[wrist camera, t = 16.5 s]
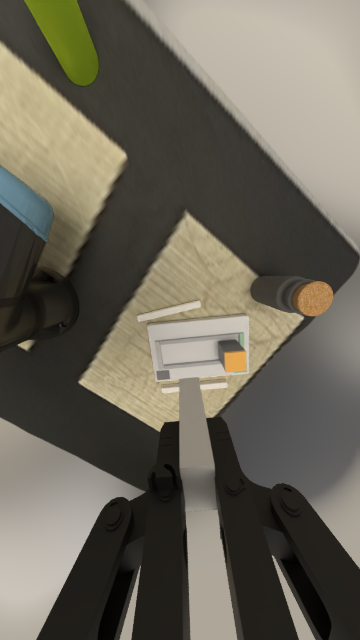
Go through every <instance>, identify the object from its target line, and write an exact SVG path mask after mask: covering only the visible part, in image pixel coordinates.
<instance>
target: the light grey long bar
mask: <svg viewBox="0 0 360 640" xmlns="http://www.w3.org/2000/svg"><path fill="white" fill-rule="evenodd" d="M199 384H200V389H201V390H204V389H215V388H226V387H227V381H226V379H221V380H210V381H199ZM161 389H162V393H172V392H179V383H177V384H167V385H162V388H161Z"/></svg>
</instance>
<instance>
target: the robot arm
mask: <svg viewBox="0 0 360 640" xmlns="http://www.w3.org/2000/svg"><path fill="white" fill-rule="evenodd" d="M53 217H54V214H53V210H52V207H51V206H50V204H49V203H48V201H47V200H46V199H45V198H44V197H42V196H41V195H40V194H39V193H37V192H36V191H35V190H33V189H32V188H31V187H29V186H28V185H27V184H25V183H24V182H23V181H21V180H20V179H19V178H17V177H16V176H15V175H13V174H12V173H10V172H9V171H8V170H6V169H5V168H4V167H2V166H1V165H0V352H2V351H4V350H6V349H8V348H11V347H13V346H15V345H17V344H20V343H22V342H24V341H26V340H34V339H47V338H52V337H56V336H58V335H60V334H62V333H64V332H66V331H67V330H69V329H70V328H71V327H72V326H73V325H74V323H75V322H76V320H77V317H78V313H79V303H78V298H77V295H76V293H75V291H74V289H73V287H72V286H71V285H70V283H69V282H68V281H67V280H66V279H65V278H64V277H63V276H61V275H60V274H58V273H57V272H55V271H53V270H50V269H47V268H43V267H37V264H38V262H39V259H40V257H41V254H42V252H43V249H44V247H45V244H46V243H48V234H49V231H50V228H51V224H52V221H53ZM147 479H148V483H149V489H148V490H147V491H146V492H145V493H144V494H142V495H141V496H139V497H137V498H135V499H133V500H130V501H128V500H127V499H126V498H124V497H117V498H115V499H113V500H111V501H110V502H109V503H107V504H106V505H105V506H104V508H103V509H102V511H101V512H100V515H99V516H98V518H97V520H96V522H95V524H94V526H93V528H92V530H91V532H90V534H89V536H88V538H87V540H86V542H85V544H84V546H83V548H82V550H81V552H80V554H79V556H78V558H77V560H76V562H75V564H74V566H73V568H72V570H71V572H70V574H69V576H68V578H67V580H66V582H65V584H64V586H63V588H62V590H61V592H60V594H59V596H58V598H57V600H56V602H55V604H54V606H53V608H52V610H51V612H50V614H49V616H48V618H47V620H46V622H45V624H44V626H43V628H42V630H41V632H40V633H39V636H38V637H37V639H36V640H119V639H120V635H121V632H122V628H123V625H124V621H125V617H126V614H127V610H128V607H129V603H130V600H131V596H132V592H133V589H134V585H135V582H136V578H137V574H138V571H139V567H140V566H141V570H140V577H139V585H138V593H137V600H136V608H135V616H134V624H133V632H132V639H131V640H190V616H189V586H188V585H189V583H188V552H187V528H186V515H185V512H191V511H203V510H217V509H218V514H219V522H220V537H221V539H222V544H223V550H224V557H225V563H226V569H227V576H228V582H229V589H230V595H231V601H232V608H233V614H234V620H235V626H236V633H237V639H238V640H299V638H298V636H297V632H296V629H295V626H294V623H293V620H292V617H291V614H290V611H289V608H288V605H287V601H286V599H285V595H284V592H283V589H282V586H281V583H280V580H279V577H278V574H277V571H276V568H275V565H274V562H273V558H272V555H273V556H274V557H275V559H276V561H277V563H278V565H279V567H280V569H281V571H282V573H283V575H284V577H285V579H286V581H287V583H288V585H289V587H290V589H291V591H292V593H293V595H294V597H295V599H296V601H297V603H298V605H299V607H300V609H301V611H302V613H303V615H304V617H305V619H306V621H307V623H308V625H309V627H310V629H311V631H312V633H313V635H314V637H315V639H316V640H360V569H359V567H358V566H357V565H356V564H355V562H354V561H353V560H352V558H351V557H350V556H349V554H348V553H347V552H346V551H345V549H344V548H343V547H342V545H341V544H340V543H339V541H338V540H337V539H336V538H335V536H334V535H333V534H332V532H331V531H330V530H329V528H328V527H327V526H326V525H325V523H324V522H323V521H322V519H321V518H320V517H319V515H318V514H317V513H316V512H315V510H314V509H313V508H312V506H311V505H310V504H309V503H308V501H307V500H306V499H305V497H304V496H303V495H302V494H301V493H300V492H299V491H298V490H297V489H295V488H294V487H292V486H290V485H287V484H284V483H282V484H276V485H275V486H274V487H273V488H272V489H269V488H266V487H262V486H259V485H257V484H254V483H253V482H251V481H250V480H249V479H248V478H247V477H246V476H245V475H244V474H243V472H242V470H241V468H240V465H239V462H238V459H237V455H236V452H235V450H234V446H233V443H232V440H231V437H230V433H229V430H228V427H227V424H226V422H225V421H224V420H223V419H222V418H221V417H214V418H206V416H205V411H204V405H203V400H202V394H201V389H200V384H199V378H198V377H193V378H182V379H179V421H175V422H165V423H164V425H163V427H162V428H161V431H160V440H159V448H158V457H157V464H156V465H155V466H153V468H152V469H151V471H150V472H149V475H148V478H147Z"/></svg>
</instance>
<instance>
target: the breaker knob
mask: <svg viewBox="0 0 360 640" xmlns="http://www.w3.org/2000/svg"><path fill="white" fill-rule="evenodd" d="M218 353H219V360H220V362H221V364H222V366H223V368H224V370H225V372H237V371H246V351H245V349H244V348H243V347H242V346H241V345H240V344H239V342H238V341H237V340H227V341H218Z"/></svg>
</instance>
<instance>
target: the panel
mask: <svg viewBox="0 0 360 640" xmlns="http://www.w3.org/2000/svg"><path fill="white" fill-rule="evenodd" d="M147 330H148V336H149V342H150V349H151V355H152V361H153V368H154V374H155V380H156V382H162V381H173V380H179V379H182V378H193V377H198V378H205V377H216V376H227V375H238V374H248V373H249V315H247V314H236V315H226V316H216V317H206V318H196V319H186V320H176V321H166V322H156V323H148V325H147ZM227 340H237V341H238V342H239V344H240V345H241V346H242V347H243V348H244V349H245V351H246V371H237V372H225V370H224V368H223V366H222V364H221V362H220V360H219V353H218V341H227Z"/></svg>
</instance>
